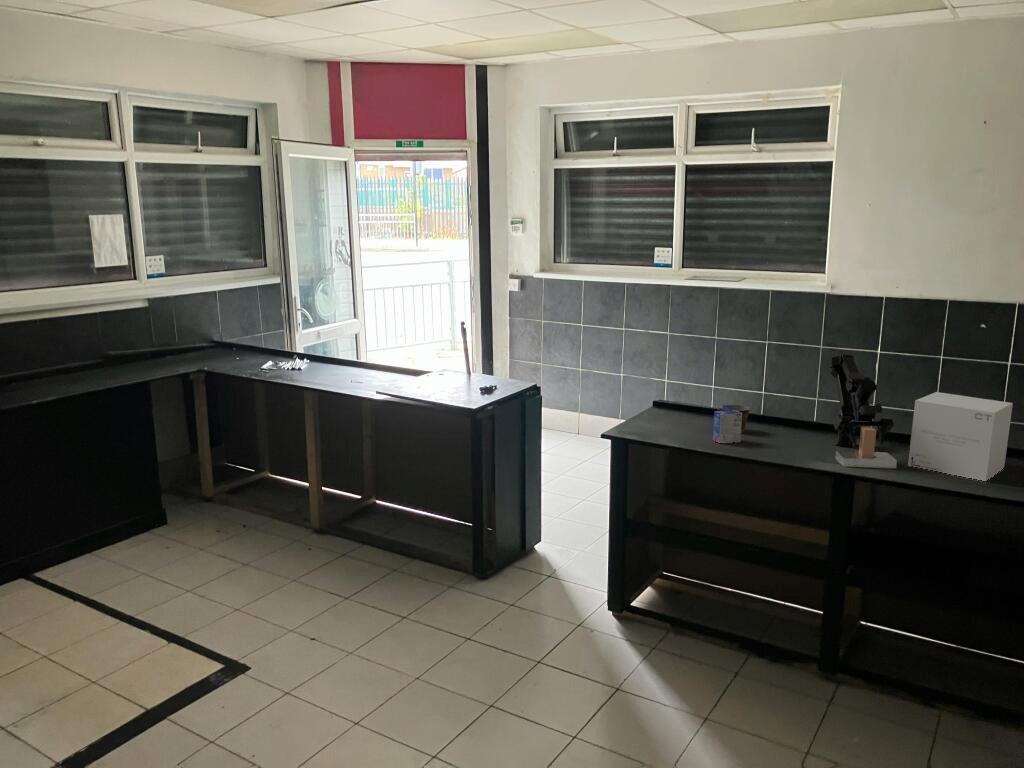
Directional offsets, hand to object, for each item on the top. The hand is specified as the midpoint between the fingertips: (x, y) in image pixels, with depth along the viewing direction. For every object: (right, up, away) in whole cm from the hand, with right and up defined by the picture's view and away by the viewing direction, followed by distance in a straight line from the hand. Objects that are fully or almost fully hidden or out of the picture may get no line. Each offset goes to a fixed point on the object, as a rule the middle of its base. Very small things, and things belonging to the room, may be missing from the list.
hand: (868, 444), depth 287 cm
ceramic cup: (-36, +2, +47) cm, 59 cm away
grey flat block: (0, -7, +3) cm, 8 cm away
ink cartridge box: (-43, -1, +30) cm, 52 cm away
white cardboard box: (+31, -9, -1) cm, 32 cm away
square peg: (0, -7, +3) cm, 8 cm away
